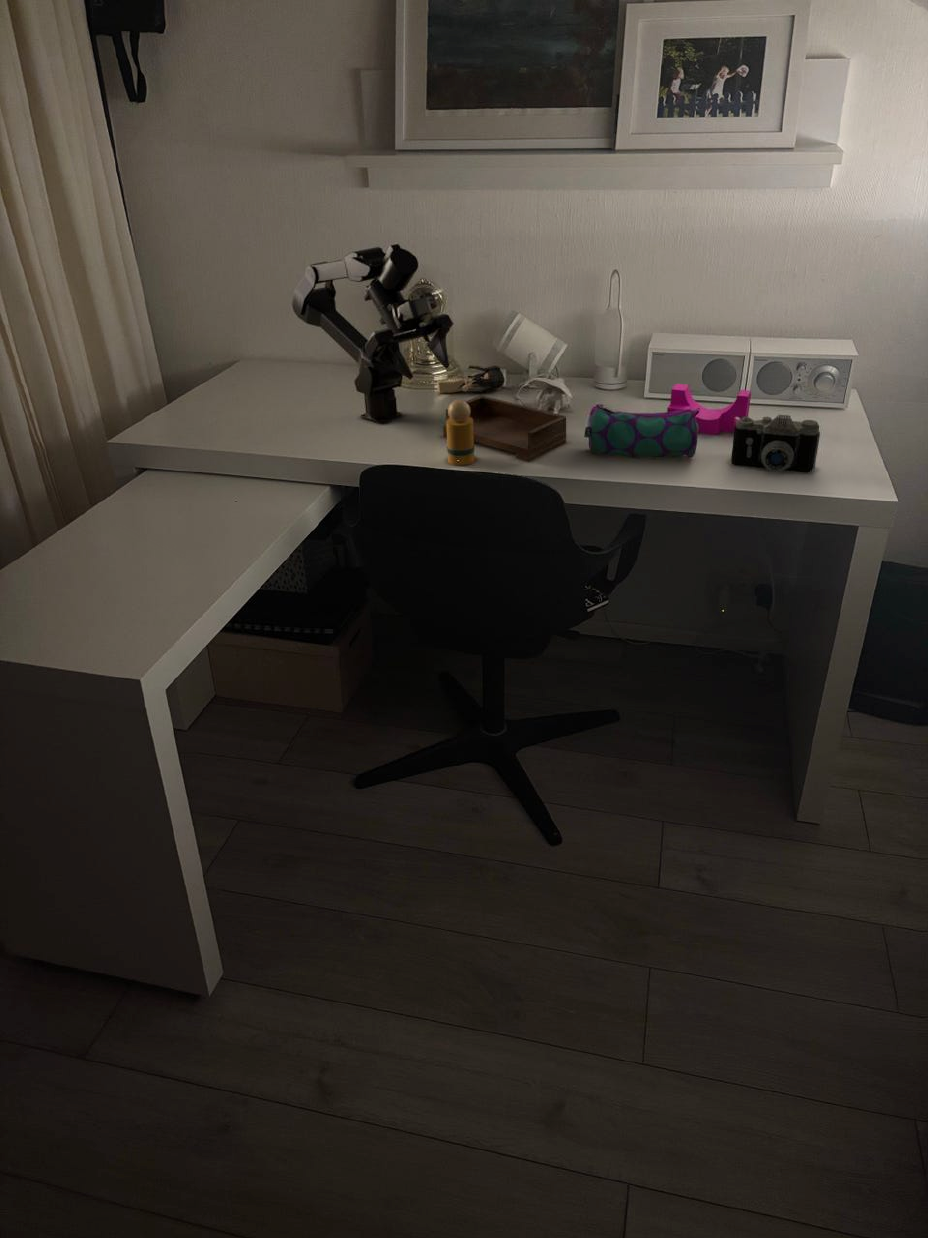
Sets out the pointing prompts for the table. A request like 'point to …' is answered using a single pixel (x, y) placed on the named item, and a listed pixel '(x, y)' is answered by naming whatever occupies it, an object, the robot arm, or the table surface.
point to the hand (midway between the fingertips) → (429, 372)
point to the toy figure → (474, 381)
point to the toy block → (710, 410)
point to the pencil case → (642, 433)
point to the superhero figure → (551, 393)
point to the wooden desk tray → (515, 427)
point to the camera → (776, 444)
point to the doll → (460, 434)
